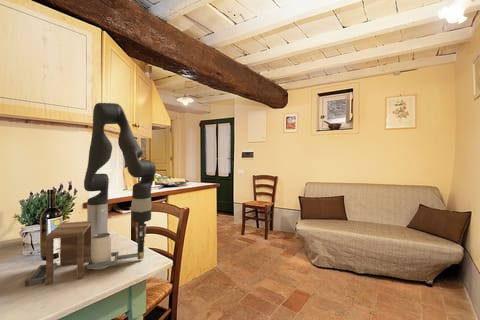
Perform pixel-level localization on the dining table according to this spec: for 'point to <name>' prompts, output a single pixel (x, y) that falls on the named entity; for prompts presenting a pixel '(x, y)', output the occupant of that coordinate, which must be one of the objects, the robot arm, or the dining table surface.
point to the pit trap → (38, 275)
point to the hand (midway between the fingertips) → (140, 250)
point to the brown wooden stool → (70, 246)
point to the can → (101, 249)
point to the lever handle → (117, 257)
